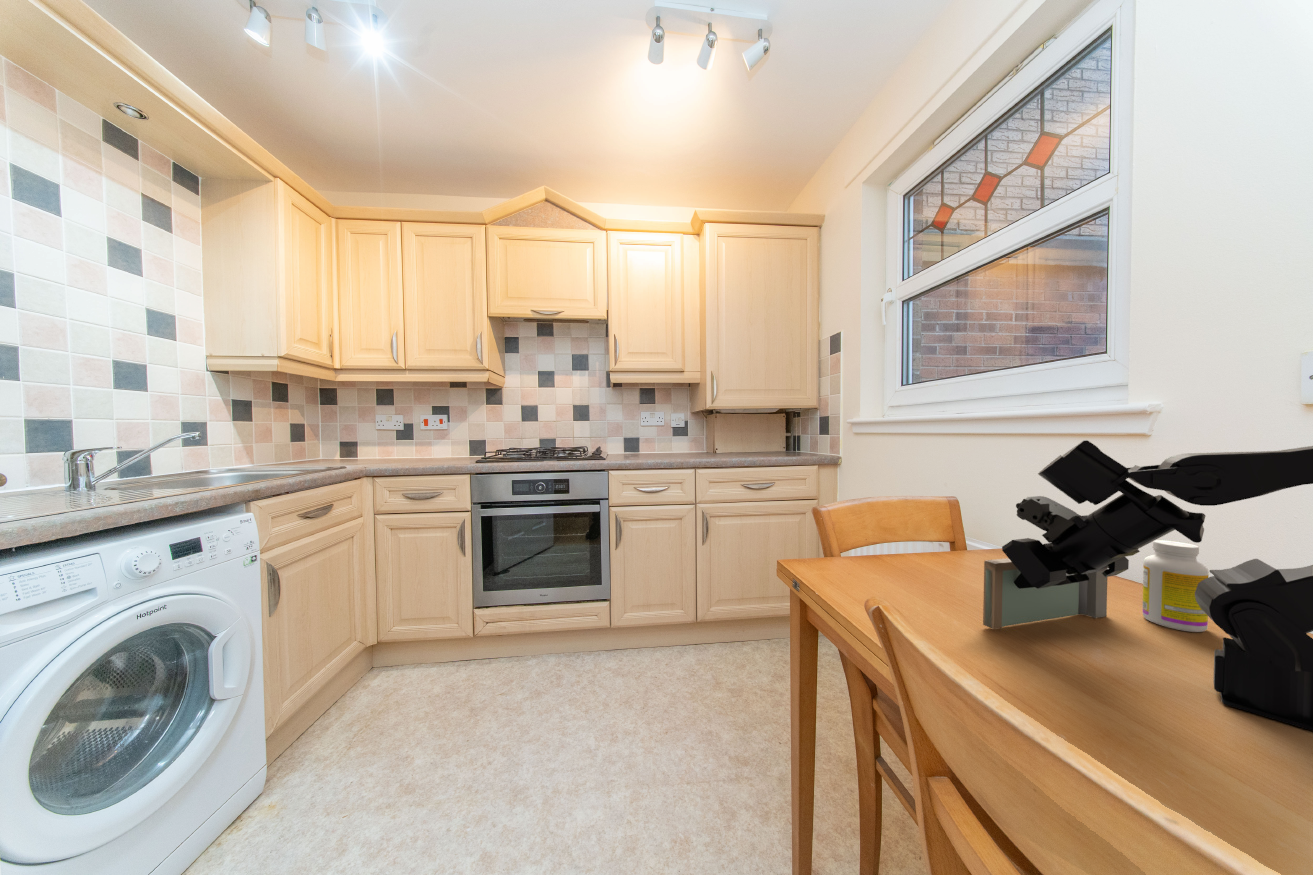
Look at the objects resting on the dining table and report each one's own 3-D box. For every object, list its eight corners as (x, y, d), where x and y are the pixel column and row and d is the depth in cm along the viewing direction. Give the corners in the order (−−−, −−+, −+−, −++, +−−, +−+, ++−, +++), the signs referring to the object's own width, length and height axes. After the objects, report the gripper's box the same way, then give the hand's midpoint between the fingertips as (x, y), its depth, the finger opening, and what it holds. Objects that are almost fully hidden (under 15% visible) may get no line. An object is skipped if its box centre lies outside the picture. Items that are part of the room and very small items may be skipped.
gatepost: (1083, 608, 74) (1085, 539, 74) (1106, 615, 71) (1108, 543, 71) (1072, 611, 73) (1074, 540, 73) (1095, 618, 70) (1097, 544, 70)
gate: (1074, 609, 72) (1076, 551, 72) (1089, 614, 71) (1091, 554, 70) (981, 624, 67) (983, 560, 66) (995, 629, 65) (996, 563, 64)
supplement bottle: (1222, 634, 65) (1224, 549, 65) (1177, 633, 65) (1179, 548, 65) (1170, 615, 72) (1172, 538, 72) (1129, 614, 72) (1131, 537, 72)
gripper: (1102, 478, 64) (1016, 535, 75) (1019, 481, 58) (939, 543, 68) (1179, 544, 57) (1072, 597, 67) (1094, 556, 50) (991, 612, 61)
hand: (1017, 585), depth 66 cm, fingers closed, pressing on gate
